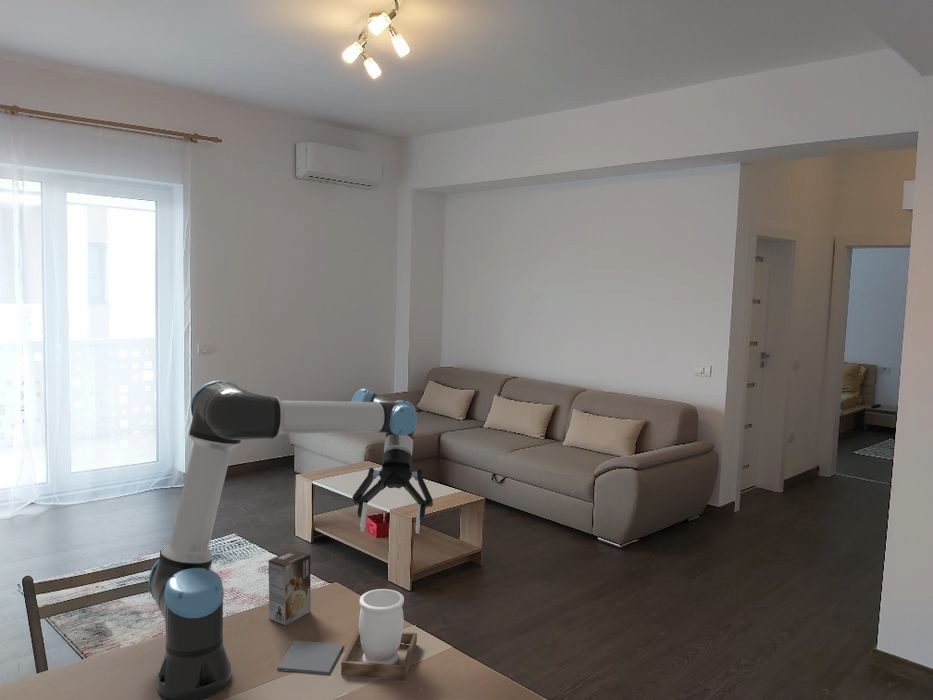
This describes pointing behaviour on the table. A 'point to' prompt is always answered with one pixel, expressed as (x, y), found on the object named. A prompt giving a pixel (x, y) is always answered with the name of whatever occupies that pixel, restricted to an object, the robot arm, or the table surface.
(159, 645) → the table surface
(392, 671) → the collar
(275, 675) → the table surface
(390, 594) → the jar
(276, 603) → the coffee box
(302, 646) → the pad
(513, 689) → the table surface
